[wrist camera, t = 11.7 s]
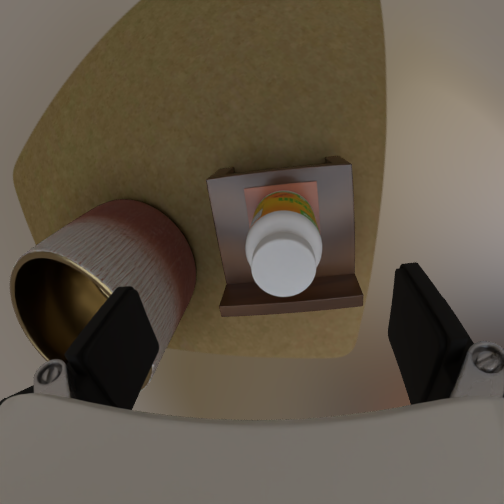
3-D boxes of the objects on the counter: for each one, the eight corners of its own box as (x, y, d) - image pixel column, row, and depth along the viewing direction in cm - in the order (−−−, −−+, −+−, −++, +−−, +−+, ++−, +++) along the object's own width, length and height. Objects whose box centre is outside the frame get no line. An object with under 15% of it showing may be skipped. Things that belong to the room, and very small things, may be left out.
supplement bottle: (324, 206, 26) (345, 252, 17) (296, 255, 28) (300, 318, 19) (270, 178, 25) (263, 211, 17) (244, 230, 28) (225, 285, 19)
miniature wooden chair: (219, 168, 32) (193, 189, 23) (339, 156, 30) (363, 171, 21) (236, 267, 36) (221, 317, 27) (344, 257, 34) (362, 306, 25)
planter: (199, 201, 33) (140, 264, 19) (199, 325, 41) (166, 414, 27) (76, 193, 34) (-9, 239, 20) (93, 304, 42) (39, 370, 28)
